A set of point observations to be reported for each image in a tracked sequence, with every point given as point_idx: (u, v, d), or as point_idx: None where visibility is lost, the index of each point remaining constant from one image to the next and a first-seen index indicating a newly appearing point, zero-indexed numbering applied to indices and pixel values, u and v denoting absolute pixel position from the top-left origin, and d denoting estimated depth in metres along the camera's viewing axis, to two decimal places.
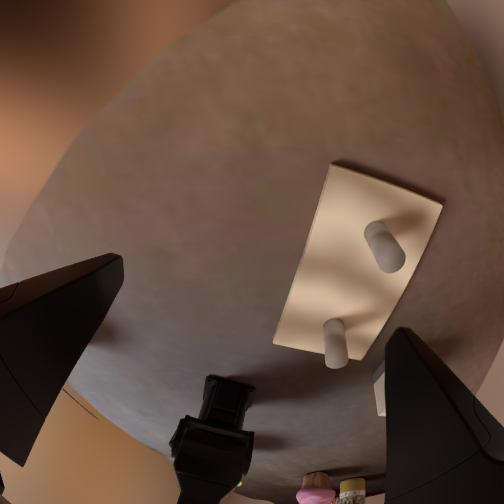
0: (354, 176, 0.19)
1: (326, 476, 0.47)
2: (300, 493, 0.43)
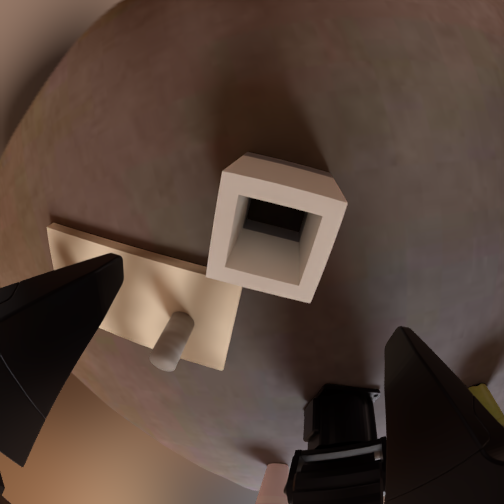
0: None
1: None
2: None
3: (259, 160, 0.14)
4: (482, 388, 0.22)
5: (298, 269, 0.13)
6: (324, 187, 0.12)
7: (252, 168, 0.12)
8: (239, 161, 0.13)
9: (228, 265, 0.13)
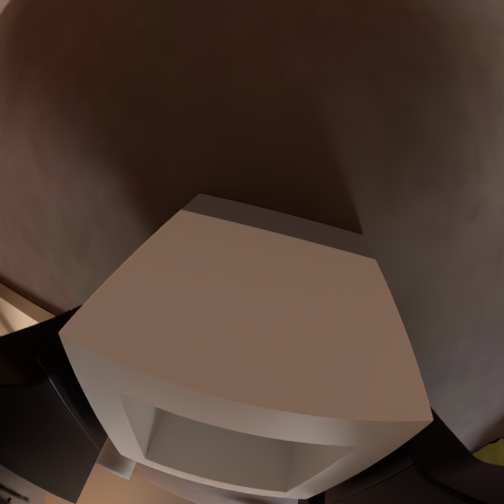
0: None
1: None
2: None
3: (212, 226, 0.06)
4: (501, 445, 0.14)
5: (290, 446, 0.06)
6: (371, 338, 0.04)
7: (169, 285, 0.04)
8: (152, 245, 0.05)
9: (152, 453, 0.05)
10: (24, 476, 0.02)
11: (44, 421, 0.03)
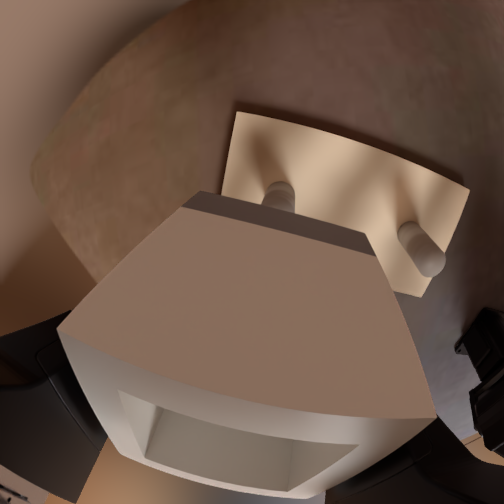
0: None
1: None
2: None
3: (212, 223, 0.06)
4: None
5: (290, 446, 0.06)
6: (373, 335, 0.04)
7: (169, 281, 0.04)
8: (152, 241, 0.05)
9: (151, 453, 0.05)
10: (24, 476, 0.02)
11: (44, 421, 0.03)
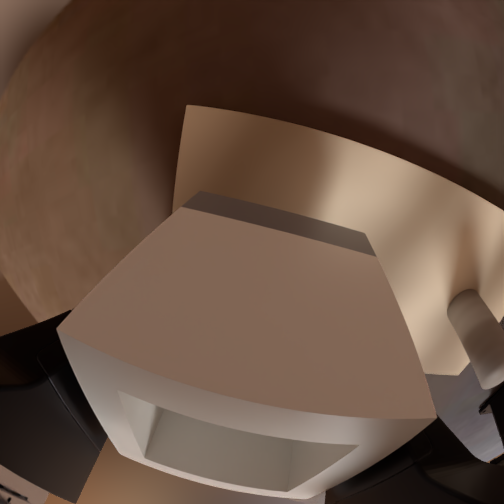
0: None
1: None
2: None
3: (212, 223, 0.06)
4: None
5: (290, 446, 0.06)
6: (373, 335, 0.04)
7: (168, 281, 0.04)
8: (152, 241, 0.05)
9: (151, 453, 0.05)
10: (24, 476, 0.02)
11: (45, 421, 0.03)
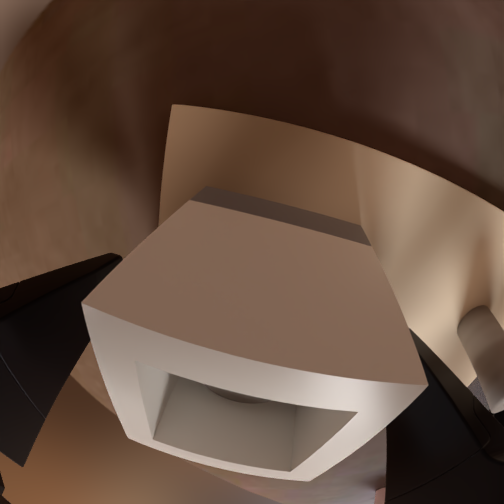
0: None
1: None
2: None
3: (219, 214, 0.07)
4: None
5: (293, 427, 0.06)
6: (367, 311, 0.04)
7: (183, 262, 0.05)
8: (165, 229, 0.05)
9: (160, 434, 0.05)
10: None
11: None
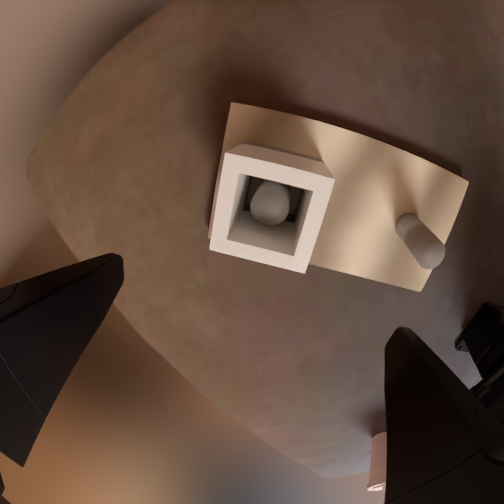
0: None
1: None
2: None
3: (257, 147, 0.15)
4: None
5: (293, 243, 0.15)
6: (315, 168, 0.13)
7: (251, 152, 0.13)
8: (239, 147, 0.14)
9: (230, 238, 0.14)
10: None
11: None
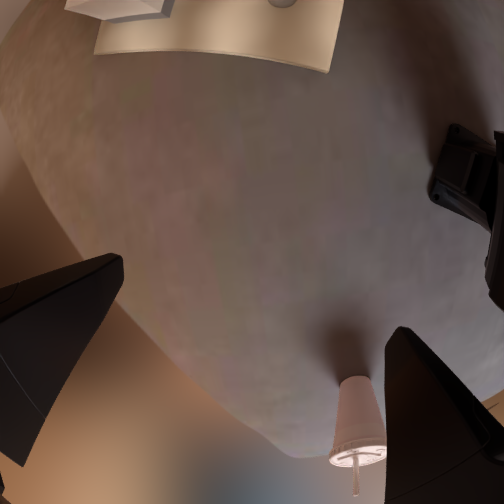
0: (100, 33, 0.14)
1: None
2: None
3: None
4: None
5: None
6: None
7: None
8: None
9: None
10: None
11: None
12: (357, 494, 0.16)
